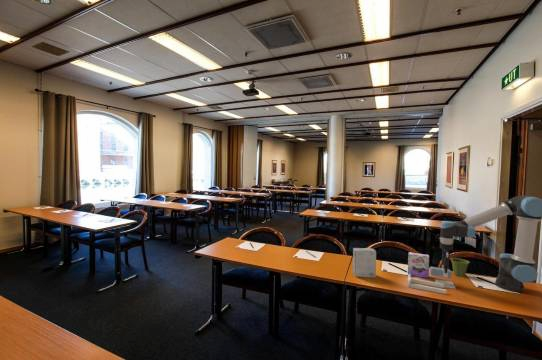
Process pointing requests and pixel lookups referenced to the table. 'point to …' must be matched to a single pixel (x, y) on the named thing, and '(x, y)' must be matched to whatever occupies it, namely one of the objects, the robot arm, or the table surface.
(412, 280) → the shelf bay
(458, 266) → the plant pot
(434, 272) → the blank
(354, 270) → the hard drive box
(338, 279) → the table surface
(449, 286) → the mat
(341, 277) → the table surface
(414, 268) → the candy box
